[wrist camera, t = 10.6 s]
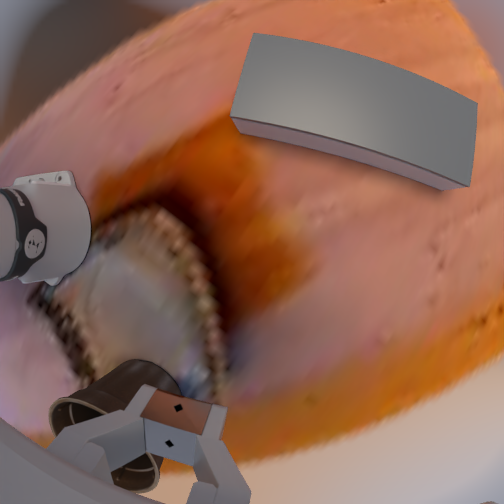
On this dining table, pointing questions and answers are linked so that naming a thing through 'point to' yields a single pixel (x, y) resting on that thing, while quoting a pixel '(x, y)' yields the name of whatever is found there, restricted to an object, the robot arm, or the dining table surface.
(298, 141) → the cable duct
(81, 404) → the plant pot
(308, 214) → the dining table surface
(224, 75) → the dining table surface
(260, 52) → the plate
